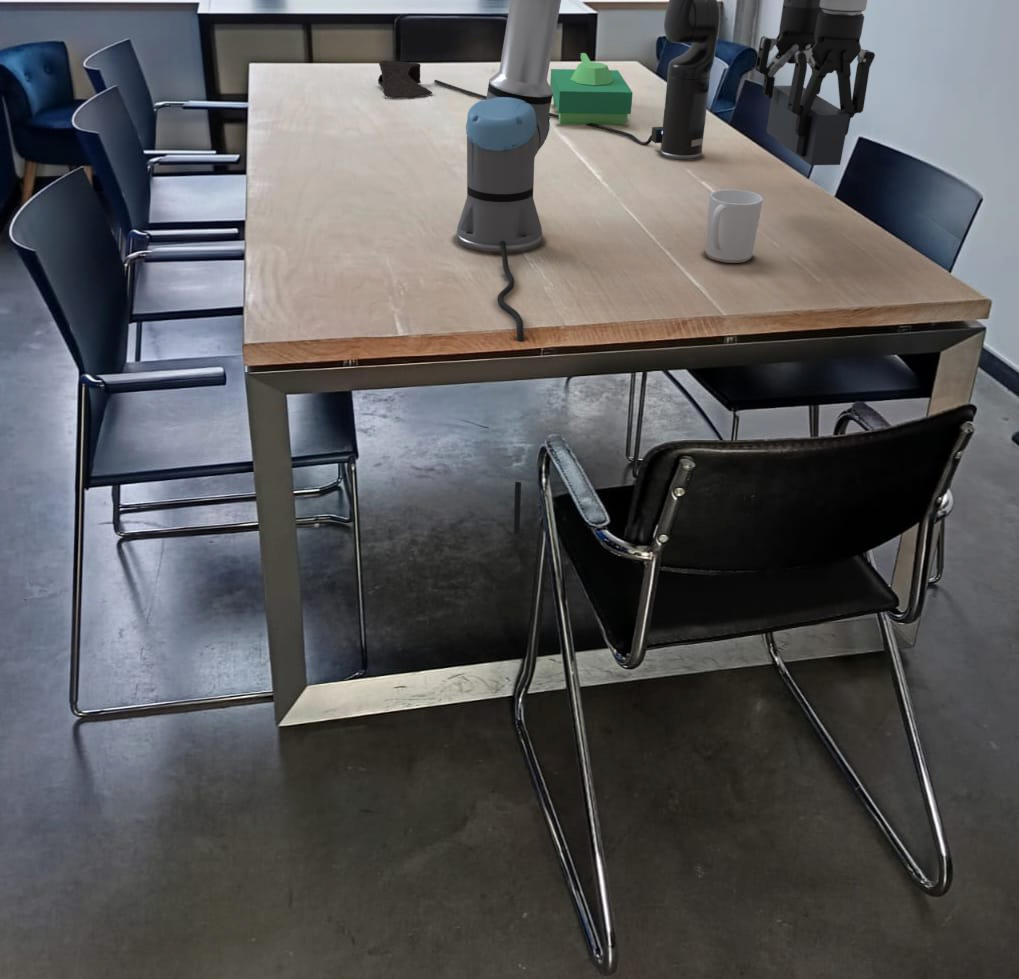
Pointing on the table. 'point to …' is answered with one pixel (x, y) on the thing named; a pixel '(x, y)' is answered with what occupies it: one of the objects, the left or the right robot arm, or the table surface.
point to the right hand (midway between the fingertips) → (790, 97)
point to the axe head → (401, 79)
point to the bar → (823, 130)
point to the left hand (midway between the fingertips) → (817, 153)
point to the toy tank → (590, 94)
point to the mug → (732, 225)
